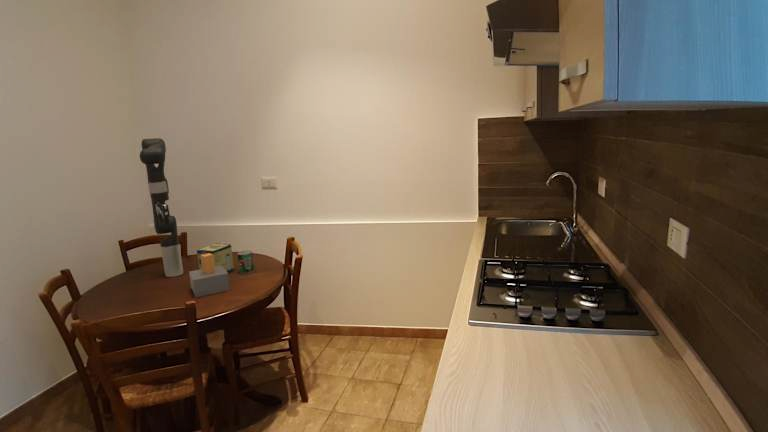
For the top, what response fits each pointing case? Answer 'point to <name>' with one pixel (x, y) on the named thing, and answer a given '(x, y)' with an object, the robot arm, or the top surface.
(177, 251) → the robot arm
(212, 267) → the orange block
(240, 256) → the canned tomato
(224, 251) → the protein box
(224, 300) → the top surface
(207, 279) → the storage box
